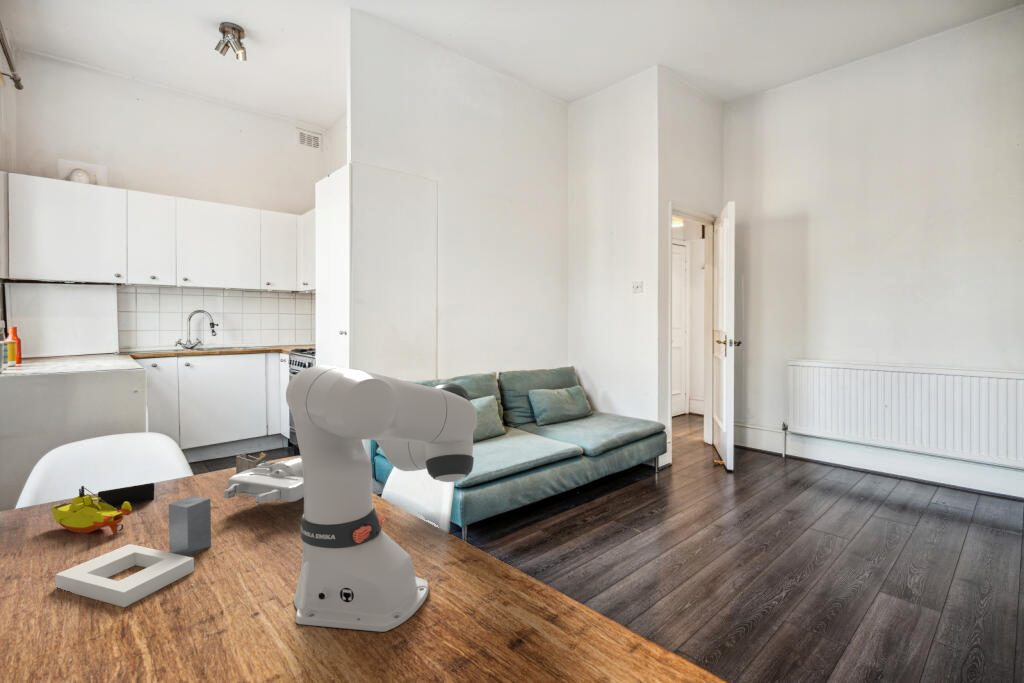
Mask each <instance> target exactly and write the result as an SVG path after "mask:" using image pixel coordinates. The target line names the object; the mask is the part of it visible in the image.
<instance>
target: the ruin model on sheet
mask: <svg viewBox="0 0 1024 683" xmlns="http://www.w3.org/2000/svg"><path fill="white" fill-rule="evenodd" d="M266 455H267V452H266V453H264V451H262V452H260V453H259V457H255V456H251V455H247V454H246V453H244V454H240V455H236V456H235V470H236V471H235V473H236V474H238V473H241V472H243V471H246V470H249V469H253V468H257V465H259V464H262V463H267V461H266V460H262V459H264V458H265V457H266ZM246 456H247V457H246ZM236 474H235V475H236Z"/></svg>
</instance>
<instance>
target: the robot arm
mask: <svg viewBox="0 0 1024 683" xmlns="http://www.w3.org/2000/svg"><path fill="white" fill-rule="evenodd" d="M285 401H286V404H287V406H288V408H289V410H290V413H291V416H292V420H293V425H294V430H295V431H294V432H295V435H296V440H297V445H298V449H299V454H300V456H299V457H293V458H290V459H288V460H282V461H278V462H266V463H262V464H259V465H257V468H253V469H249V470H246V471H243V472H241V473H238V474H233V475H232V476H230V477H229V478H228V481H227V489H224V490H223V493H222V495H223V498H225V499H232V498H234V497H235V495H242V496H249V497H254V499H255V500H254V503H257V504H260V505H261V504H264V503H267V502H273V501H279V502H284V503H285V502H286V503H293V502H297V501H299V500H301V499H302V498H303V513H302V514H301V517H300V518H301V520H300V523H301V524H300V538H301V540H302V541H303V542H302V543H303V545H302V546H303V547H302V556H301V566H300V571H299V572H300V573H299V578H298V582H297V587H296V591H295V594H294V596H293V604H294V606H295V608H296V616H295V622H296V624H298V625H307V626H319V627H325V628H326V627H327V628H339V629H347V630H348V629H349V630H360V631H371V632H379V633H380V632H381V633H382V632H388V631H390V630H393V629H395V628H397V627H398V626H400V625H402V624H403V623H404V622H406V621H407V620H409V619H410V618H411V617H412V616H414V614H415V613H416V612H417V611H418V610H419V608H420V607H421V606H422V605H423V604H424V602H425V601H426V599H427V597H428V595H429V590H430V588H429V583H428V581H427V579H424V578H421V577H418V576H417V575H416V572H415V566H414V561H413V558H412V556H411V554H410V553H408V552H407V551H406V550H404V548H402V547H401V546H400V545H399V544H398V543H397V542H396V541H394V539H392V538H391V537H390V536H389V535H388V534H386V532H384V531H383V530H382V525H381V524H382V523H384V522H386V521H387V518H385V517H386V516H387V514H386V513H385V514H382V515H381V516H380V517H378V514H377V511H376V509H375V507H374V505H373V466H372V461H371V459H370V456H369V455H368V454H367V451H366V449H365V446H364V444H363V443H364V442H363V440H366V441H367V440H369V441H370V440H372V441H373V440H374V441H375V442H376V443H377V445H378V446H379V448H380V449H381V451H382V453H383V455H384V457H385V459H386V460H387V461H388V462H389V463H390V464H391V466H393V467H394V468H396V469H397V470H399V471H403V472H415V471H422V470H427V474H428V475H429V476H430V477H431V478H432V479H433V480H436V481H439V482H443V483H454V482H458V481H460V480H462V479H464V478H467V477H468V476H469V475H470V474H471V472H473V467H474V458H475V457H474V456H473V454H474V453H473V452H474V435H473V434H474V432H475V430H476V428H477V425H478V414H477V410H476V407H475V406H474V404H473V403H472V402H471V400H470V396H469V393H468V391H467V390H466V389H465V388H464V387H463V386H462V385H460V384H455V383H444V384H439V385H435V386H433V387H432V386H428V385H423V384H421V383H420V384H419V383H415V382H412V381H411V382H410V381H404V380H402V379H398V378H393V377H389V376H386V375H381V374H377V373H373V372H368V371H365V370H358V369H353V368H346V367H341V366H340V367H339V366H334V365H328V364H319V365H315V366H314V365H313V366H310V367H308V368H305V369H302V370H300V371H298V372H297V373H296V374H295V375H294V376H292V378H291V379H290V380H289V382H288V384H287V387H286V390H285Z"/></svg>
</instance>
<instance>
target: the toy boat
mask: <svg viewBox="0 0 1024 683" xmlns="http://www.w3.org/2000/svg"><path fill="white" fill-rule="evenodd" d="M85 490H86V491H88V492H89V493H91V494H92V495H93V496H94V497H92V496H91V495H90V494H89V493H86V494H85ZM98 500H101V499H100V498H99V497H98V495H96V494H95V493H93V492H92V491H90V490H88V488H86V487H85V486H84V485H82V486H81V487H80V488H79V489H78V496H77V495H76V496H75V497H74V498H73V499H72V502H68V503H66V502H64V503H59V504H56V505H53V506H52V507H51V512H52V517H53V519H54V520H55V521H56V523H58V524H59V525H60V526H61V527H62V528H65V529H67V530H69V531H70V532H73V533H77V534H79V533H84V534H86V533H92V532H94V531H98V530H99V529H102V528H107V527H109V528H110V529H111V531H112V532H111V533H112V534H113V535H118V532H121V531H122V530H123V529H124V524H121V522H122V520H124V516H129V515H131V514H132V513H133V510H132V508H133V507H132V504H130V503H129V502H124V503H123V505H122V506H121V508H120V509H119V510H118V508H116V506H115V507H113V506H111V505H109V504H107V503H106V502H104V501H103V500H102V501H103V502H104V503H102V502H98ZM94 502H97V503H94ZM105 503H106V504H105ZM120 525H121V527H120V528H119V526H120ZM118 528H119V529H118Z"/></svg>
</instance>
